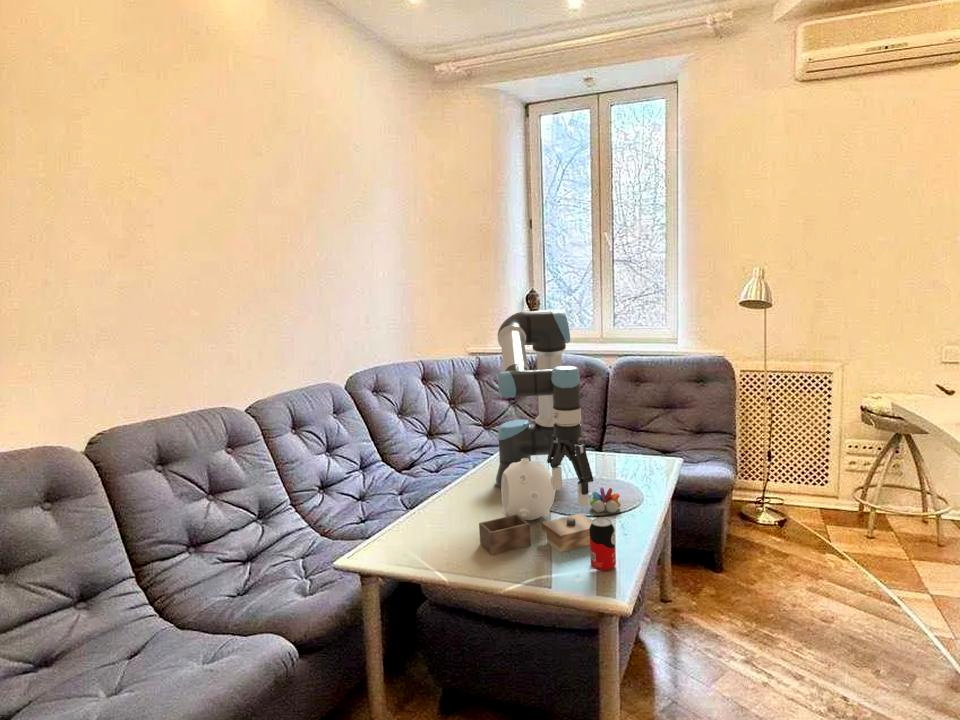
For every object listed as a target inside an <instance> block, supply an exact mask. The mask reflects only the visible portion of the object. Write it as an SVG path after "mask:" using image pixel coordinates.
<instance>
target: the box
mask: <svg viewBox="0 0 960 720" xmlns="http://www.w3.org/2000/svg"><path fill="white" fill-rule="evenodd" d="M478 527H479V529H478V530H479V542H480V543H479V544H480V546H481V547H482V548H484V550H486V552H488V553H489V555H490V556H497V555H500V554H504V553H508V552H511V551H512V552H513V551H515V550H520V549H525V548H529V547H531V545H532V543H531V542H532V541H531V525H530V523H529V521H527V520H524V519H522V518H521V517H520V516H518V515H512V516H511V515H509V516H508V517H507V516H504V517H500V518H495V519H490V520H487V521H480V522H479V523H478Z"/></svg>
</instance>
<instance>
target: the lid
mask: <svg viewBox="0 0 960 720" xmlns="http://www.w3.org/2000/svg"><path fill="white" fill-rule="evenodd" d="M592 520H593V519H591V518H589V517H588V516H586V515H585V514H583V513H577V514H572V515H568V516H564V517H563V516H562V517H560V518H556V519H551V520H547V521H542V522H541V530H543V532H544V533H545V532H546V534H547V533H548V534H549V535H551V536H552V537H554V538H555V539H556V540H558V541H559V542H561V543H563V542H567V541H571V540H575V539H579V538H583V537H587V536H590V532H589V528H590V526H591V524H592Z"/></svg>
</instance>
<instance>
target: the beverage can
mask: <svg viewBox="0 0 960 720" xmlns="http://www.w3.org/2000/svg"><path fill="white" fill-rule="evenodd" d="M591 520H592V524H591V526H590V528H589V532H590V546H589V549H590V550H589V552H590V553H589V554H590V555H589V556H590V564H591V566H592V567H593V568H594V569H596V570H598V571H603V572H604V571H605V572H606V571H610V570H612V569H613V568H614V567H615V565H616V562H617V561H616V535H615V532H616V531H615V526H614V525H613V522H612V520H611V519H609V518H606V517H605V518H604V517H597V518H594V519H591Z"/></svg>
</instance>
